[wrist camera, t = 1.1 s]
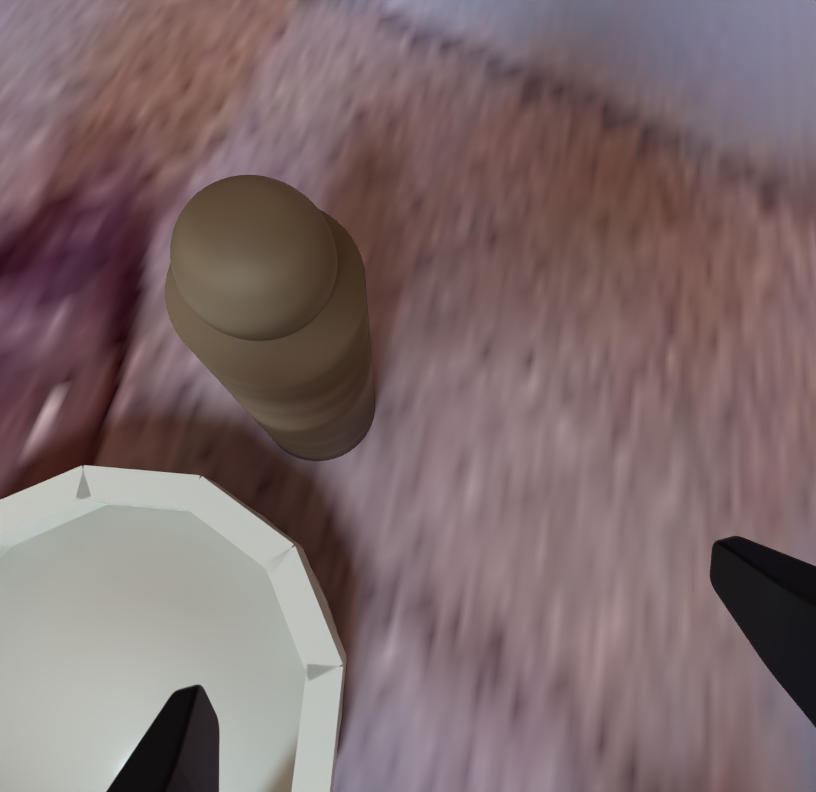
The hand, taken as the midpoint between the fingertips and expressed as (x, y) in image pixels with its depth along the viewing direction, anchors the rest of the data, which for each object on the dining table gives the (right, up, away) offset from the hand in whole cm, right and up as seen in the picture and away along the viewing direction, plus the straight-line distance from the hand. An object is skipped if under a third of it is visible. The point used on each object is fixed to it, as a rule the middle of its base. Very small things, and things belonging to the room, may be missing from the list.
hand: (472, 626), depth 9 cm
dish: (-12, -7, +11) cm, 17 cm away
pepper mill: (-5, +4, +15) cm, 16 cm away
